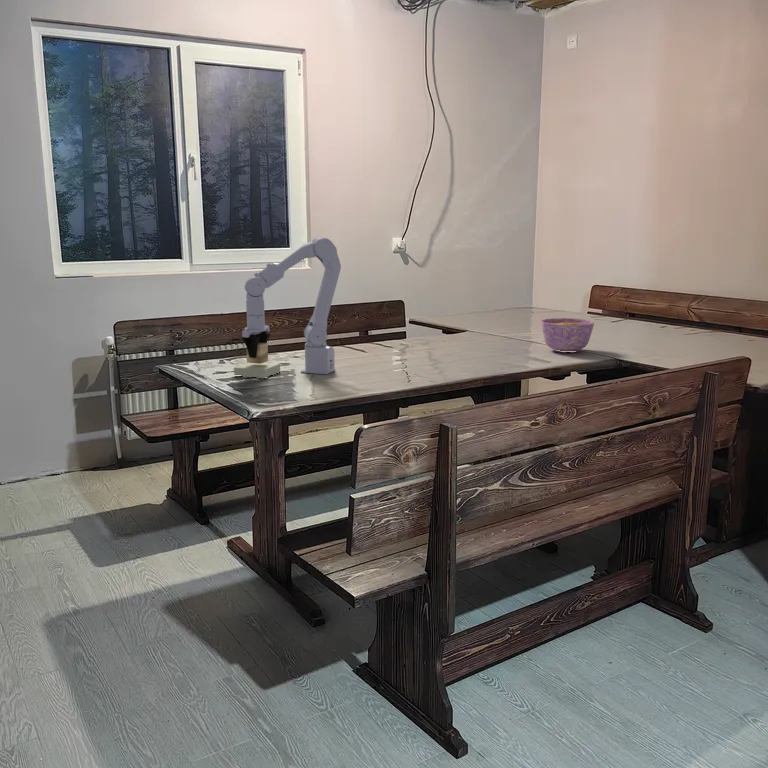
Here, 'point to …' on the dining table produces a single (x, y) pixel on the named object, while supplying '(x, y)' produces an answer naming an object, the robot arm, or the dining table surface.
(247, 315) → the robot arm
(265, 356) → the maple block
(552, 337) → the bowl of food
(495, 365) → the dining table surface
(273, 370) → the sage slab
